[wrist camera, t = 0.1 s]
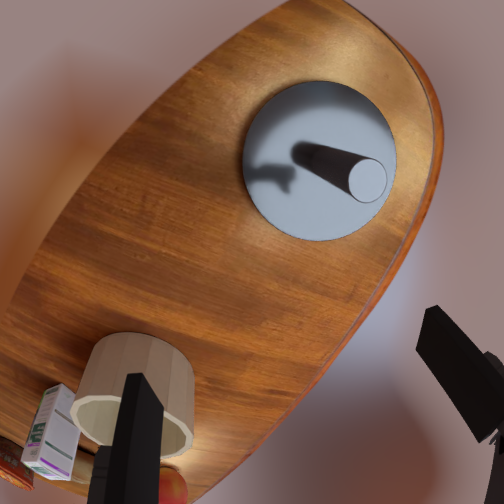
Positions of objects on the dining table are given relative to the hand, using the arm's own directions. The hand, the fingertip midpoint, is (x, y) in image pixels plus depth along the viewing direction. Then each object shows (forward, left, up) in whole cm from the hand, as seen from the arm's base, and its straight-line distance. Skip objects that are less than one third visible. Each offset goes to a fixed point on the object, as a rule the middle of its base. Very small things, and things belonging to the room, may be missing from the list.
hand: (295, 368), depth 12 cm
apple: (+48, -26, -17) cm, 57 cm away
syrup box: (+21, -33, -17) cm, 42 cm away
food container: (+48, -74, -17) cm, 89 cm away
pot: (+16, -17, -17) cm, 28 cm away
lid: (-5, +7, -16) cm, 18 cm away
